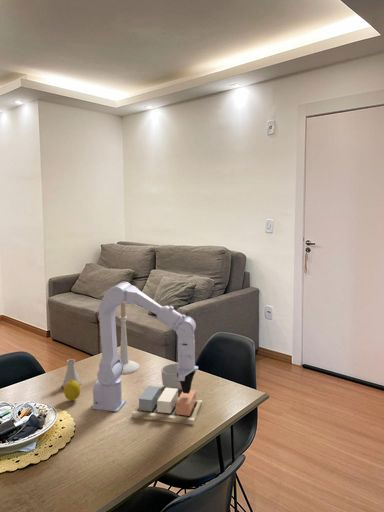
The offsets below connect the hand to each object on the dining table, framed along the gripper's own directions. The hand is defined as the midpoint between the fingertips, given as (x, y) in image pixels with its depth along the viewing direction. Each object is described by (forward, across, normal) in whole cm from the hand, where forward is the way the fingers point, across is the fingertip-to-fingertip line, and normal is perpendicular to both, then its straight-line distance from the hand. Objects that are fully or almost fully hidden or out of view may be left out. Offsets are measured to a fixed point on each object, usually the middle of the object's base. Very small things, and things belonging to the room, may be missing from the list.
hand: (186, 392), depth 139 cm
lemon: (+7, -1, +42) cm, 43 cm away
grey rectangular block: (+5, 0, +13) cm, 14 cm away
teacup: (+8, +19, +8) cm, 22 cm away
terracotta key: (+5, 0, 0) cm, 5 cm away
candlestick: (+8, +31, +35) cm, 47 cm away
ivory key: (+5, 0, +6) cm, 8 cm away
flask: (+8, +11, +49) cm, 51 cm away
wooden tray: (+7, 0, +6) cm, 10 cm away
